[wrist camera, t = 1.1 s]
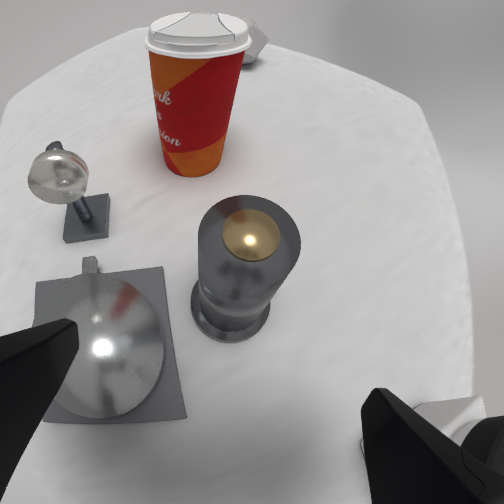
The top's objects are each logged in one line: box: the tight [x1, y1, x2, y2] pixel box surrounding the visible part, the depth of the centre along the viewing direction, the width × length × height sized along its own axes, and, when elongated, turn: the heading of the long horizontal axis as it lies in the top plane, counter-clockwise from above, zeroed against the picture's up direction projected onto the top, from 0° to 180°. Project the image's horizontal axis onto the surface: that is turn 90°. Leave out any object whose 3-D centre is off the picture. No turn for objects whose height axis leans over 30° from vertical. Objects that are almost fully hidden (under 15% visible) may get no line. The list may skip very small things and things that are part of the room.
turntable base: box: [35, 266, 187, 424], centre depth 18 cm, size 11×11×1 cm
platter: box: [32, 256, 165, 419], centre depth 17 cm, size 11×10×1 cm
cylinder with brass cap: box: [191, 195, 301, 343], centre depth 17 cm, size 6×6×10 cm
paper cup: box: [144, 12, 252, 177], centre depth 21 cm, size 8×8×14 cm
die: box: [237, 17, 269, 64], centre depth 35 cm, size 8×9×10 cm
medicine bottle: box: [361, 396, 504, 476], centre depth 12 cm, size 7×7×12 cm
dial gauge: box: [28, 141, 110, 243], centre depth 18 cm, size 4×4×9 cm
